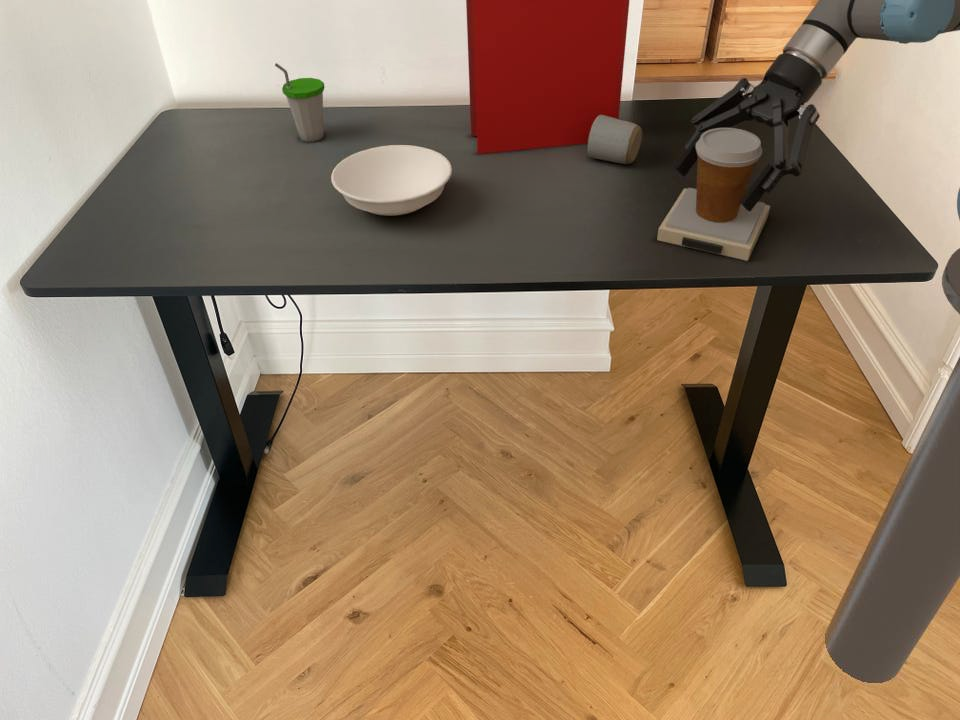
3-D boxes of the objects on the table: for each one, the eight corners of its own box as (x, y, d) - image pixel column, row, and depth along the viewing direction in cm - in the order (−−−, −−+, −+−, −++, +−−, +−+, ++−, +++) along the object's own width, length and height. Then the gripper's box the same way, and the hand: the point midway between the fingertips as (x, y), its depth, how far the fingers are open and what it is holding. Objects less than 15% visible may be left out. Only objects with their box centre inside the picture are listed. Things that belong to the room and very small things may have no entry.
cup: (338, 130, 156) (326, 54, 146) (322, 147, 150) (308, 69, 140) (302, 127, 158) (288, 51, 148) (285, 143, 152) (269, 66, 142)
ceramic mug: (628, 172, 139) (633, 131, 134) (585, 164, 142) (588, 123, 137) (646, 148, 146) (651, 108, 141) (604, 141, 149) (607, 102, 144)
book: (477, 153, 146) (471, -32, 125) (471, 135, 152) (464, -44, 131) (618, 140, 149) (635, -44, 128) (606, 122, 155) (621, -56, 134)
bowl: (438, 170, 141) (436, 137, 137) (467, 224, 127) (465, 189, 123) (329, 187, 138) (323, 154, 134) (345, 245, 123) (339, 209, 119)
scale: (767, 217, 126) (771, 201, 124) (746, 263, 116) (750, 246, 114) (682, 199, 131) (684, 184, 129) (655, 242, 121) (657, 225, 119)
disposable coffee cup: (673, 215, 122) (685, 142, 114) (703, 191, 127) (716, 121, 119) (730, 235, 117) (745, 160, 109) (758, 209, 122) (775, 137, 114)
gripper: (882, 107, 109) (784, 233, 113) (746, 57, 125) (664, 169, 129) (869, 78, 103) (766, 212, 107) (728, 29, 119) (643, 147, 123)
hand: (710, 189), depth 118 cm, fingers open, 13 cm apart
